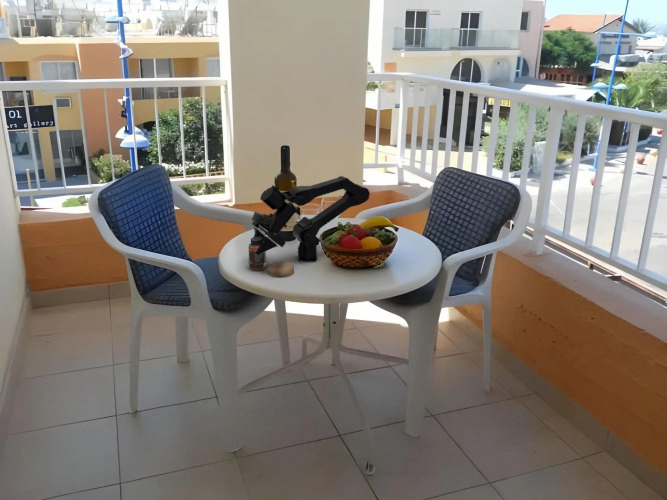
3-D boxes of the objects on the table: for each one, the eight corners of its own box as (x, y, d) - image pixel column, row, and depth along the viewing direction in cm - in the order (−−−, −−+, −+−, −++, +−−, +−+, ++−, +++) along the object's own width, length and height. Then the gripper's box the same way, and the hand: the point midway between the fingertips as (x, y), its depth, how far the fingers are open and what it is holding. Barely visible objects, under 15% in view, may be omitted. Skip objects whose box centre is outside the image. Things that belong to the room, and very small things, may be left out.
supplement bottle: (269, 268, 207) (268, 238, 203) (256, 272, 203) (254, 242, 199) (259, 263, 211) (258, 234, 207) (246, 268, 207) (244, 238, 203)
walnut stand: (295, 267, 207) (295, 261, 206) (292, 277, 199) (292, 271, 198) (271, 267, 208) (270, 260, 207) (266, 277, 200) (266, 270, 199)
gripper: (255, 197, 209) (228, 231, 208) (275, 210, 193) (246, 247, 192) (276, 215, 215) (250, 248, 214) (297, 229, 199) (269, 264, 198)
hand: (253, 251), depth 204 cm, fingers closed on supplement bottle, 6 cm apart
